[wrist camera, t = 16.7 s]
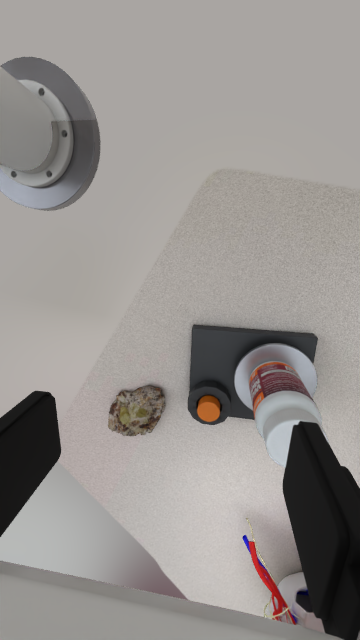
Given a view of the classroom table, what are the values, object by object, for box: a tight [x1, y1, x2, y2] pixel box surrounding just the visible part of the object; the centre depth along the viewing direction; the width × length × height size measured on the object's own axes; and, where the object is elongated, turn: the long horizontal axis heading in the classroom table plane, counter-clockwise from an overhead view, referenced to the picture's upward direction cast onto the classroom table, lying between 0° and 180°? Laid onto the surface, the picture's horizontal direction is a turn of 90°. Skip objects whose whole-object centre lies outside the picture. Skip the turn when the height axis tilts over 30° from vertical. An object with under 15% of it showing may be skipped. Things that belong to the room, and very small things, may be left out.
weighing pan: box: [234, 343, 317, 410], centre depth 34 cm, size 10×10×1 cm
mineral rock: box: [108, 386, 165, 436], centre depth 41 cm, size 11×4×8 cm
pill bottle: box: [249, 361, 329, 468], centre depth 28 cm, size 6×6×11 cm
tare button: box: [197, 395, 220, 422], centre depth 36 cm, size 3×3×2 cm
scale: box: [188, 325, 318, 425], centre depth 36 cm, size 16×13×4 cm
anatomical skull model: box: [243, 518, 325, 633], centre depth 37 cm, size 16×19×25 cm
